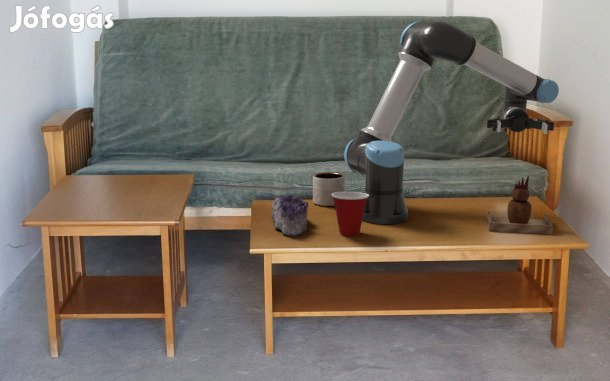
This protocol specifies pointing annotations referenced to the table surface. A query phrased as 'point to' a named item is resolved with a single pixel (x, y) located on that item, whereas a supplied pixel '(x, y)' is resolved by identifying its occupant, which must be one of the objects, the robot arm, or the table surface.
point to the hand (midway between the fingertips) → (522, 128)
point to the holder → (520, 225)
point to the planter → (327, 187)
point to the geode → (290, 215)
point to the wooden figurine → (519, 204)
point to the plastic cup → (349, 211)
